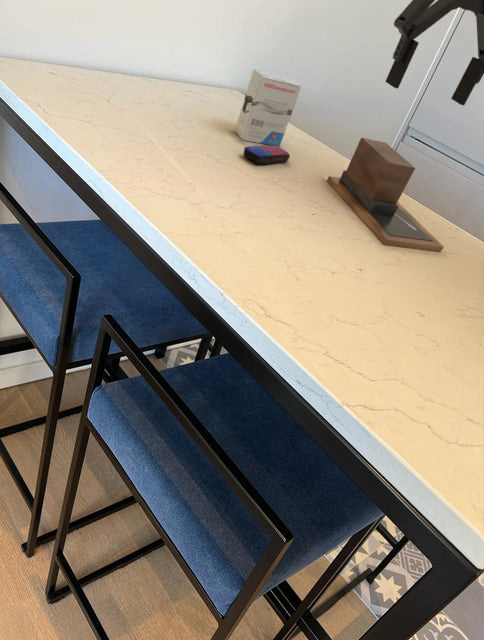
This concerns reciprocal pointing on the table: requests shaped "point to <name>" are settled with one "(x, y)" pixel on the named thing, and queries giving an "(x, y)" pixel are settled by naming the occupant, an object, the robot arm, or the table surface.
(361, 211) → the board
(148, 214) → the table surface
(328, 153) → the table surface
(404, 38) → the robot arm
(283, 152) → the eraser
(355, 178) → the duster
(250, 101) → the ink box
